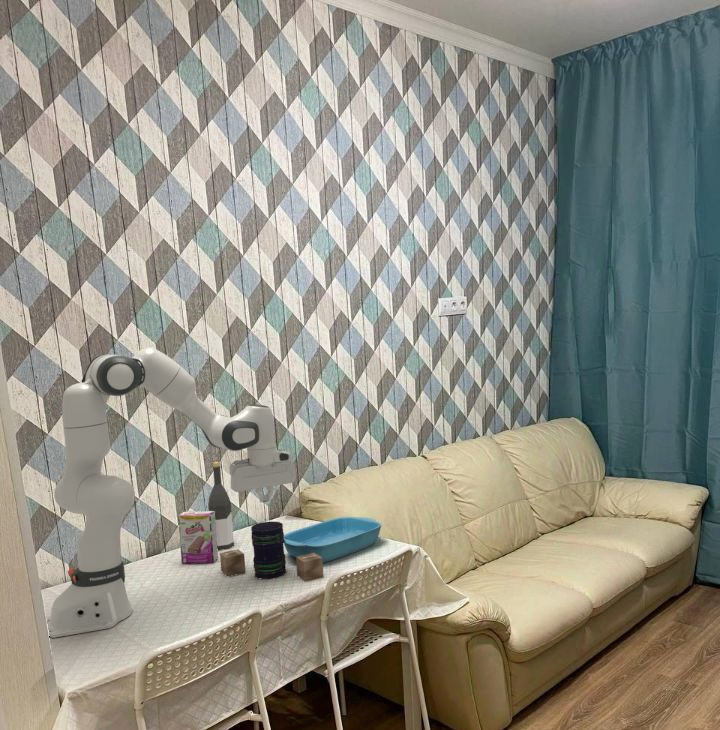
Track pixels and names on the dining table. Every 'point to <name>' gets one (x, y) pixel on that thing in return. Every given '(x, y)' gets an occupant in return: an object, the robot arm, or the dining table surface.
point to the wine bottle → (221, 511)
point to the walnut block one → (309, 566)
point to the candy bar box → (198, 537)
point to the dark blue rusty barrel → (268, 550)
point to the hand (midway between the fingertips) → (265, 501)
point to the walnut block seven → (232, 562)
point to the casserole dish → (333, 537)
